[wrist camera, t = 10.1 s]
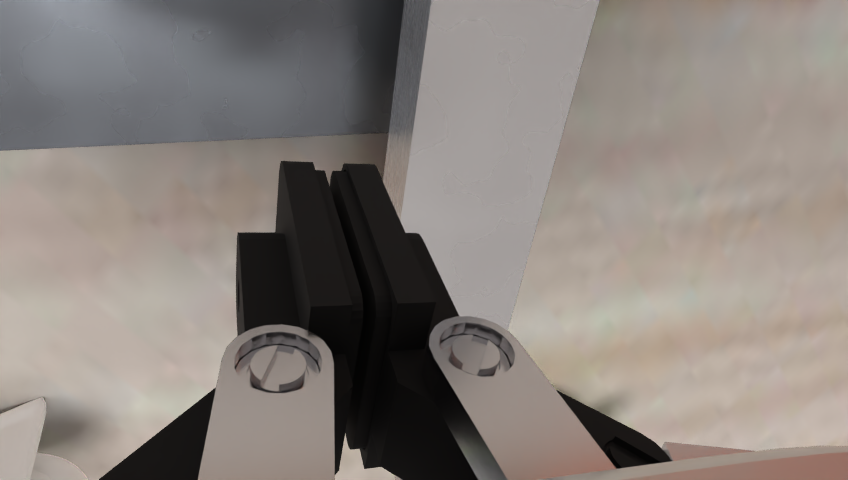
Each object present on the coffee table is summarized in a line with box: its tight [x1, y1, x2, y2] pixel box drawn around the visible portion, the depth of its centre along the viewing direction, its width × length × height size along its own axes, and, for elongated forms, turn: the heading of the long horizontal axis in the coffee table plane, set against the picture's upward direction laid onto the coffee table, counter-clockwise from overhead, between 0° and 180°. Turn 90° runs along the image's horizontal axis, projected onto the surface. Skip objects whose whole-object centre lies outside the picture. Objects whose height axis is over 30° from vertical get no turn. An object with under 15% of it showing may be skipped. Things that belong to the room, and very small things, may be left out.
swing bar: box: [383, 0, 600, 330], centre depth 17 cm, size 21×4×2 cm, turn 172°
